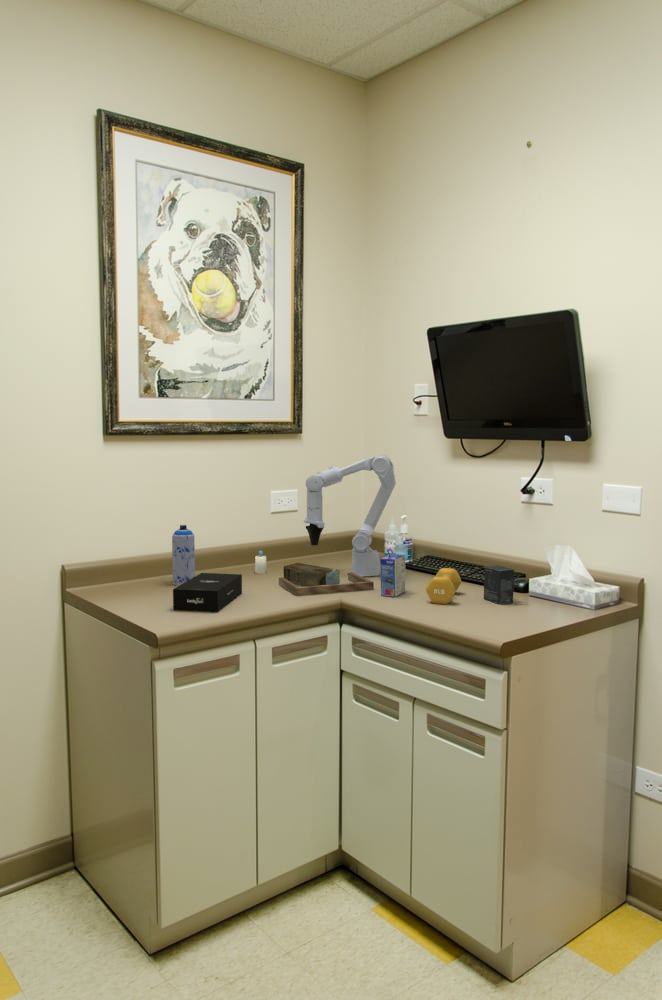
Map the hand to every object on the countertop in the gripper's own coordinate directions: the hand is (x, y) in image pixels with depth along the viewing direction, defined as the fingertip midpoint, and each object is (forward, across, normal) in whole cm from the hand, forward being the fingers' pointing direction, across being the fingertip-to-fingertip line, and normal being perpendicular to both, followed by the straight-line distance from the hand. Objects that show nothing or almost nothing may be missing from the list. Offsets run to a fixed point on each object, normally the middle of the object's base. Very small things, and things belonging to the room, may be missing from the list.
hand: (314, 545), depth 278 cm
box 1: (+11, +30, -46) cm, 56 cm away
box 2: (+11, +61, +38) cm, 73 cm away
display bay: (+10, +24, -5) cm, 27 cm away
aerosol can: (+11, +1, -48) cm, 49 cm away
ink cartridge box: (+11, +40, +12) cm, 43 cm away
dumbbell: (+11, +51, +24) cm, 58 cm away
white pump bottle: (+10, -8, -18) cm, 22 cm away
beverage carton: (+11, +18, -8) cm, 23 cm away
